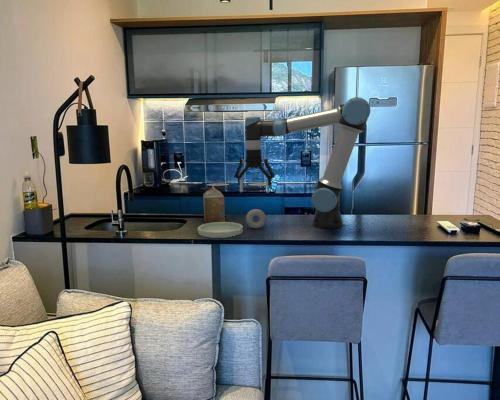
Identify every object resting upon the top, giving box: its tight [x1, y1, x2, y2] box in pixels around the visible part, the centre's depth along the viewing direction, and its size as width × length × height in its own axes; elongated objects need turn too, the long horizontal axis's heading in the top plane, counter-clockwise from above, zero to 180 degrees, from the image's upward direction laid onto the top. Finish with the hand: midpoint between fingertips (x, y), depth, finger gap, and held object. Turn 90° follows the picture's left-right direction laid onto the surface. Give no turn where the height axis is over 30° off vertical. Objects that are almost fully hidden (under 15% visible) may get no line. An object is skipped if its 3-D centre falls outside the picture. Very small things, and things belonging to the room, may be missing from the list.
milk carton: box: [202, 185, 226, 224], centre depth 231 cm, size 11×11×19 cm
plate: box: [197, 221, 244, 239], centre depth 208 cm, size 22×22×2 cm
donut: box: [245, 208, 267, 229], centre depth 213 cm, size 10×4×10 cm, turn 90°
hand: (254, 192), depth 211 cm, fingers open, 13 cm apart
